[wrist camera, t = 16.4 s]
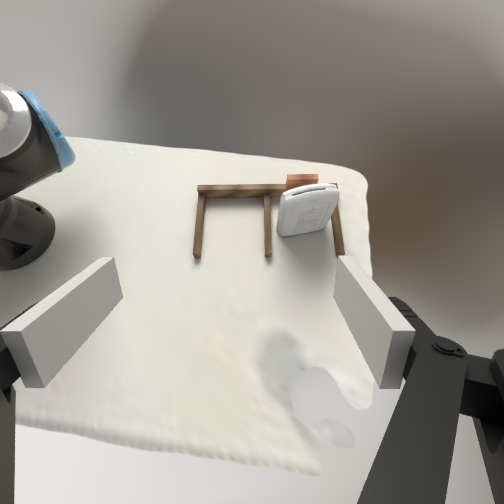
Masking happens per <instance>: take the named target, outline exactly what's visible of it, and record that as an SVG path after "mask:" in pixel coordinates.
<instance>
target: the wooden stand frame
mask: <svg viewBox="0 0 504 504" xmlns="http://www.w3.org/2000/svg"><path fill="white" fill-rule="evenodd" d="M317 182H318V174H295V175H287V181H286V184H245V185H198V186H197V191H198V205H197V215H196V226H195V237H194V247H193V255H194V257H201V247H202V235H203V222H204V210H205V198H250V197H264V229H265V257H271V254H272V253H271V220H270V197H281V195H282V193H284V192H286V191H288V190H291V189H294V188H297V187H301V186H306V185H312V184H317ZM328 184H334V185H336V186H337V183H328ZM337 189H338V187H337ZM331 221H332V228H333V236H334V244H335V251H336V256H343V255H344V254H345V251H344V244H343V238H342V231H341V224H340V217H339V210H338V204H337V205H336V207H335V209H334V211H333V213H332V215H331Z"/></svg>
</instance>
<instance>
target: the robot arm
mask: <svg viewBox="0 0 504 504" xmlns="http://www.w3.org/2000/svg"><path fill="white" fill-rule="evenodd" d="M74 161H75V153H74V152H73V150H72V148H71V147H70V145H69V144H68V142H67V141H66V139H65V138H64V136H63V135H62V134H61V132H60V130H59V129H58V127H57V126H56V124H55V123H54V121H53V120H52V118H51V117H50V116H49V114H48V113H47V111H46V110H45V108H44V107H43V105H42V104H41V103H40V101H39V100H38V99H37V97H36V96H35V95H34V94H33V93H32V92H30V91H23V92H22V91H19V92H16V91H14V90H13V89H12V88H10V87H9V86H7V85H5V84H3V83H1V82H0V270H12V269H17V268H20V267H22V266H25V265H27V264H29V263H30V262H32V261H34V260H35V259H36V258H38V257H39V256H40V255H41V254H42V253H43V252H44V251H45V250H46V248H47V247H48V246H49V244H50V242H51V240H52V238H53V235H54V231H55V222H54V219H53V216H52V215H51V213H50V212H49V211H48V210H46V209H45V208H43V207H42V206H41V205H39V204H37V203H35V202H33V201H30V200H27V199H24V198H21V197H17V196H14V194H16V193H18V192H20V191H22V190H24V189H26V188H28V187H30V186H32V185H34V184H35V183H37V182H39V181H41V180H43V179H45V178H47V177H49V176H51V175H53V174H55V173H57V172H58V173H59V172H61V171H62V170H63V169H64V168H66V167H68V166H69V165H71V164H72V163H74ZM333 297H334V299H335V301H336V303H337V305H338V307H339V309H340V311H341V313H342V315H343V317H344V319H345V321H346V323H347V325H348V327H349V329H350V331H351V333H352V335H353V337H354V339H355V341H356V343H357V345H358V347H359V349H360V351H361V352H362V354H363V356H364V358H365V360H366V362H367V364H368V366H369V368H370V370H371V372H372V374H373V376H374V378H375V380H376V382H377V384H378V386H379V388H380V389H400V386H401V383H402V379H403V377H404V379H405V381H406V383H405V385H404V387H403V390H402V393H401V395H400V397H399V400H398V402H397V405H396V407H395V410H394V412H393V415H392V417H391V420H390V422H389V425H388V427H387V430H386V432H385V435H384V437H383V440H382V442H381V445H380V447H379V450H378V452H377V455H376V457H375V460H374V462H373V465H372V467H371V470H370V472H369V475H368V477H367V480H366V482H365V485H364V487H363V490H362V492H361V495H360V497H359V499H358V502H357V504H445V499H446V493H447V487H448V481H449V474H450V468H451V462H452V456H453V449H454V442H455V437H456V430H457V424H458V418H459V413H460V414H463V415H467V416H471V417H472V418H473V421H474V425H475V429H476V433H477V436H478V441H479V444H480V448H481V452H482V456H483V460H484V464H485V467H486V471H487V475H488V478H489V483H490V486H491V490H492V494H493V498H494V502H495V504H504V349H501V350H497V351H496V352H495V353H494V355H493V357H492V359H488V358H483V357H479V356H474V355H469V354H467V352H466V351H465V350H464V349H463V348H462V346H460V345H459V344H457V343H456V342H454V341H452V340H450V339H447V338H444V337H440V336H436V335H435V334H434V333H433V332H432V331H431V329H430V328H429V327H428V326H427V325H426V324H425V323H424V322H423V321H422V320H421V319H420V318H419V317H418V316H417V315H416V313H414V312H413V311H412V309H411V308H410V307H409V306H408V305H407V304H406V303H405V302H403V301H401V300H400V299H398V298H396V297H387V296H386V295H385V294H384V293H383V292H382V291H381V289H380V288H379V287H378V286H377V285H376V284H375V283H374V281H373V280H372V279H371V278H370V277H369V275H368V274H367V273H366V272H365V271H364V270H363V268H362V267H361V266H360V265H359V264H358V263H357V261H356V260H355V259H354V258H353V257H352V256H338V262H337V270H336V279H335V287H334V295H333ZM122 298H123V295H122V291H121V286H120V282H119V278H118V273H117V269H116V265H115V260H114V257H101V258H99V259H98V260H96V261H95V262H94V263H92V264H91V265H90V266H88V267H87V268H85V269H84V270H83V271H81V272H80V273H79V274H77V275H76V276H75V277H73V278H72V279H70V280H69V281H68V282H66V283H65V284H64V285H62V286H61V287H59V288H58V289H57V290H55V291H54V292H53V293H51V294H50V295H48V296H47V297H46V298H44V299H43V300H42V301H40V302H38V303H36V304H34V305H32V306H30V307H29V308H28V309H26V310H25V311H23V313H21V314H19V315H18V316H16V317H15V319H12V320H11V321H9V322H8V323H7V324H5V325H4V326H3V327H1V328H0V504H14V477H15V476H14V475H15V473H14V472H15V398H16V391H15V389H14V387H13V385H12V384H13V383H14V382H15V381H16V380H17V379H18V378H19V377H21V379H22V381H23V383H24V385H25V387H26V388H45V387H46V386H47V385H48V383H49V382H50V381H51V380H52V379H53V378H54V376H55V375H56V374H57V373H58V372H59V371H60V370H61V368H62V367H63V366H64V365H65V364H66V363H67V362H68V360H69V359H70V358H71V357H72V356H73V355H74V353H75V352H76V351H77V350H78V349H79V348H80V347H81V345H82V344H83V343H84V342H85V341H86V340H87V338H88V337H89V336H90V335H91V334H92V333H93V332H94V330H95V329H96V328H97V327H98V326H99V325H100V324H101V322H102V321H103V320H104V319H105V318H106V317H107V315H108V314H109V313H110V312H111V311H112V310H113V309H114V307H115V306H116V305H117V304H118V303H119V302H120V300H121V299H122Z"/></svg>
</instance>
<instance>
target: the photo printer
mask: <svg viewBox="0 0 504 504" xmlns="http://www.w3.org/2000/svg"><path fill="white" fill-rule="evenodd" d="M338 200H339V191H338V190H337V186H336V185H334V184H326V183H323V184H312V185H306V186H301V187H297V188H294V189H291V190H288V191H286V192H284V193H282V195H281V200H280V206H279V213H278V219H277V226H276V228H277V231H278V233H279V234H280V235H281V236H291V235H297V234H303V233H308V232H314V231H318V230H321V229H324V228H325V227H326V225H327V223H328V221H329V219H330V217H331V215H332V213H333V211H334V209H335V207H336V205H337V204H338Z"/></svg>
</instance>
